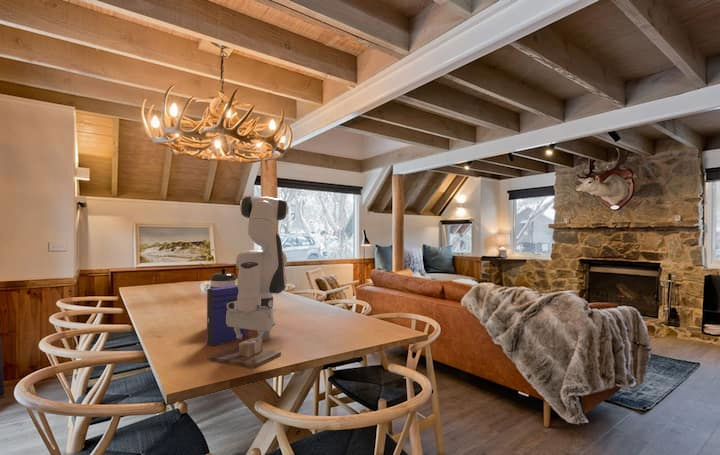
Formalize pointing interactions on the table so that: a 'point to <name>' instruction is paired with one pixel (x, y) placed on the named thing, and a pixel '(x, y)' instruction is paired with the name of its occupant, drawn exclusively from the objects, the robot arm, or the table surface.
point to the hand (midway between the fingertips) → (248, 340)
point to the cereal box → (221, 316)
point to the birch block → (250, 347)
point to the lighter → (266, 335)
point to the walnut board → (243, 357)
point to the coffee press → (222, 279)
